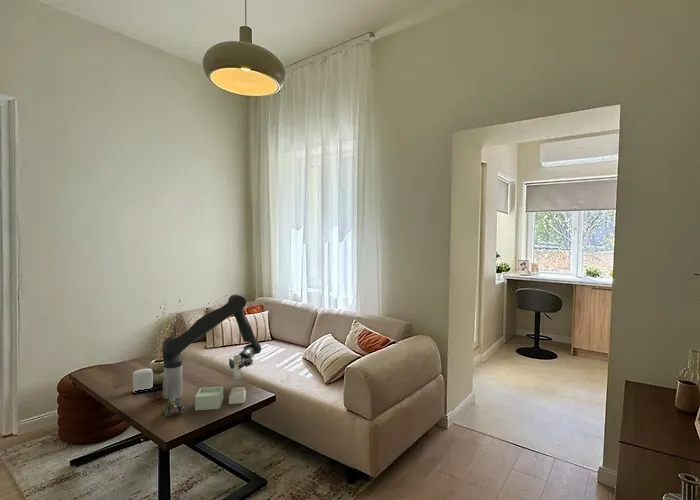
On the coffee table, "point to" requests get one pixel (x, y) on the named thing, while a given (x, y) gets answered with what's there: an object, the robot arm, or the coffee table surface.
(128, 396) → the coffee table surface
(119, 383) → the coffee table surface
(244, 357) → the robot arm
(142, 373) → the photo printer
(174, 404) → the passion flower
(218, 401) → the tray
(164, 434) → the coffee table surface
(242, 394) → the fuse holder
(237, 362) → the fuse
